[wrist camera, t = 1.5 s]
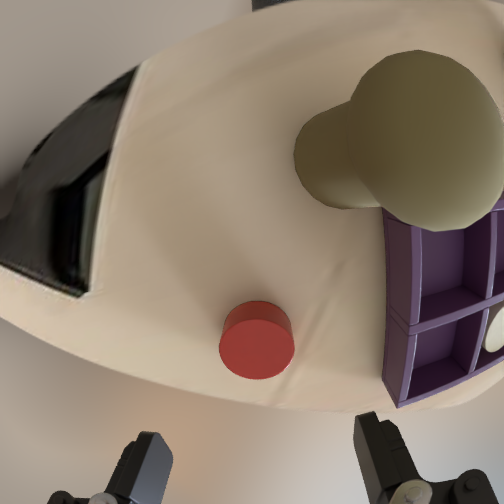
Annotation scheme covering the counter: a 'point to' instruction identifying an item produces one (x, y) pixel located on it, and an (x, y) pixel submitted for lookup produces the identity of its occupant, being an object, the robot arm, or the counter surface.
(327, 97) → the counter surface
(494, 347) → the stacked ivory token
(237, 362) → the red token
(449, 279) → the token board
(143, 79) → the counter surface
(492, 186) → the olive pawn
